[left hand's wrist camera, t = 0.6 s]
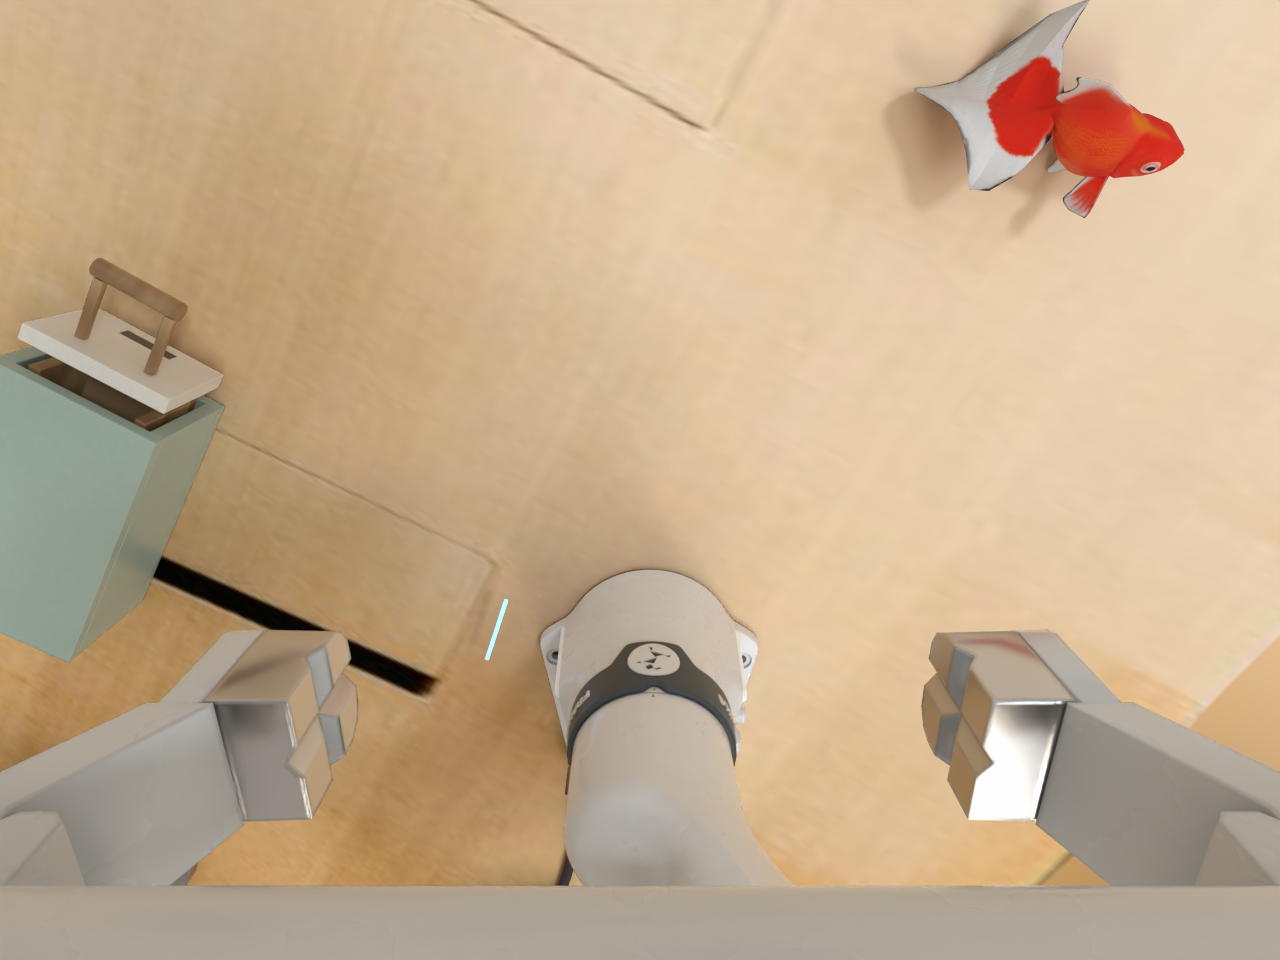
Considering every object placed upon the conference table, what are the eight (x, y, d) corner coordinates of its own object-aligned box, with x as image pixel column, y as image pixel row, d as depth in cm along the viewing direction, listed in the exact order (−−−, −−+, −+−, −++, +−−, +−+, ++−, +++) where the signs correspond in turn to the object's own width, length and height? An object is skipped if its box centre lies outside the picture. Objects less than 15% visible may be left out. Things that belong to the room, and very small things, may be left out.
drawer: (120, 235, 51) (46, 242, 45) (251, 308, 53) (198, 325, 47) (25, 511, 59) (-49, 550, 53) (143, 566, 61) (85, 611, 54)
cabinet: (85, 332, 55) (-13, 358, 46) (225, 406, 57) (155, 443, 49) (14, 541, 61) (-83, 596, 53) (142, 600, 63) (68, 663, 55)
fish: (1071, 294, 49) (1146, 219, 39) (869, 178, 53) (892, 83, 43) (1165, 166, 49) (1263, 59, 40) (959, 59, 53) (1002, -62, 43)
